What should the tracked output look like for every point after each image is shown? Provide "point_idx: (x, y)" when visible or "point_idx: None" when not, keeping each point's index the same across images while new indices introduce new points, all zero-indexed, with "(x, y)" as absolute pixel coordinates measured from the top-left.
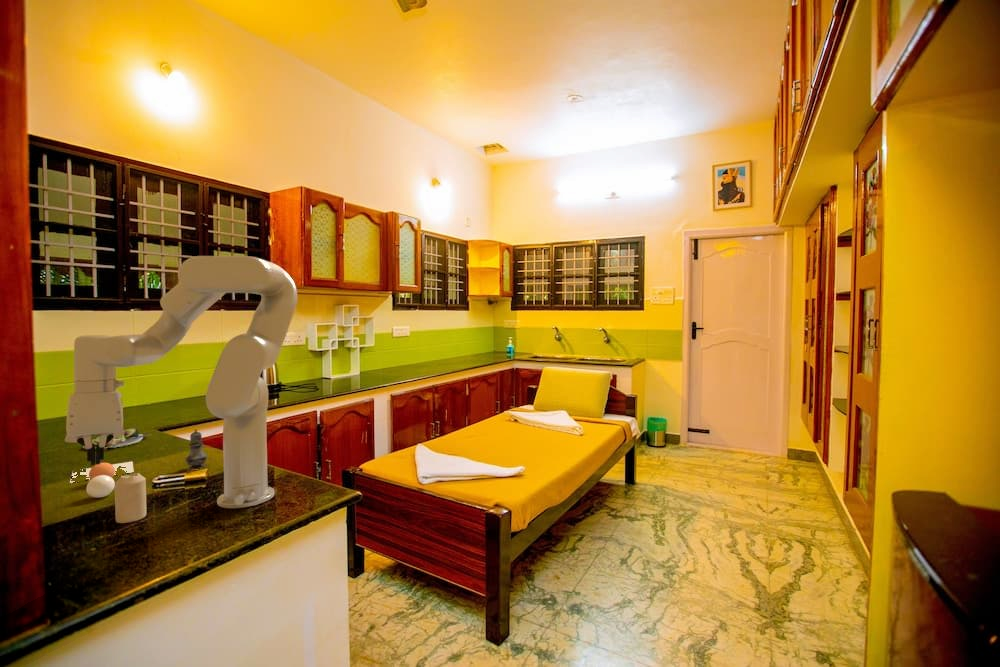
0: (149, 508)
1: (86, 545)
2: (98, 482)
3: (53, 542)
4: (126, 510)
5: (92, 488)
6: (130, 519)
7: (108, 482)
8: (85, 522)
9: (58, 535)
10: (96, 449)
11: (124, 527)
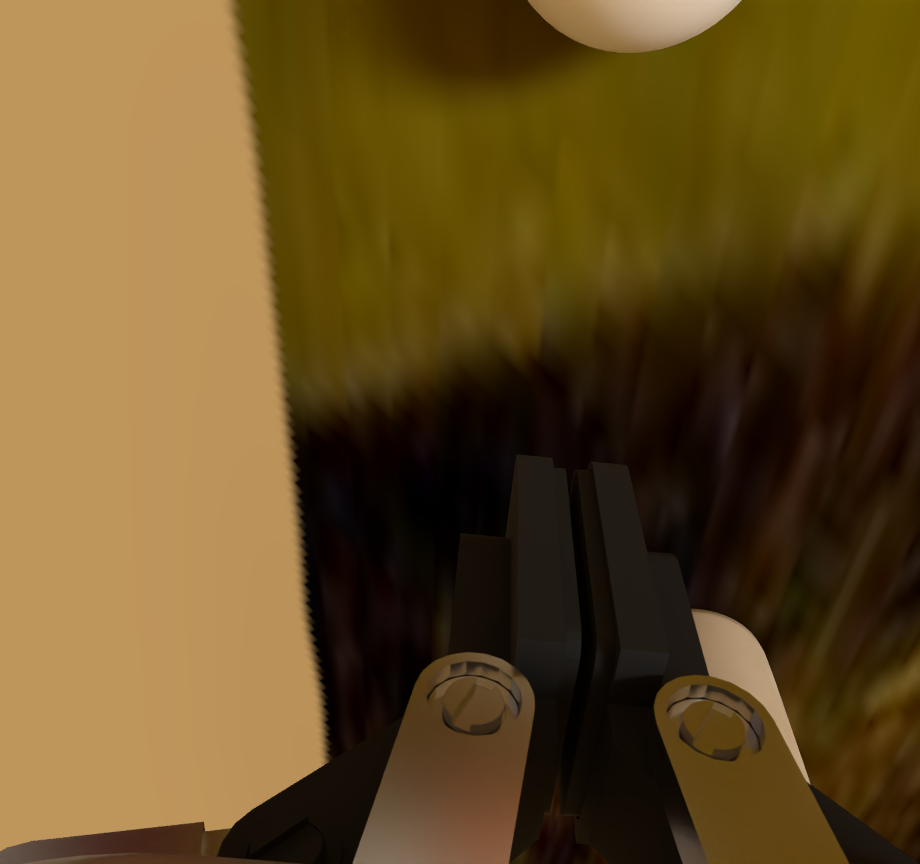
0: (821, 580)
1: None
2: (610, 23)
3: (322, 716)
4: None
5: (546, 15)
6: None
7: (712, 18)
8: None
9: (336, 645)
10: (568, 808)
11: None
